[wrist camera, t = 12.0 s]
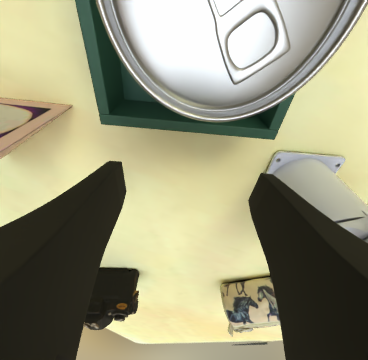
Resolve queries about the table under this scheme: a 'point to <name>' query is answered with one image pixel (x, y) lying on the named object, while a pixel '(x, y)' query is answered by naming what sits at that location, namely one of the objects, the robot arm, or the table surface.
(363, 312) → the robot arm
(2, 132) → the greeting card
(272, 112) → the tote
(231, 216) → the table surface
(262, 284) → the pencil case
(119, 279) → the film camera
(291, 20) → the can
